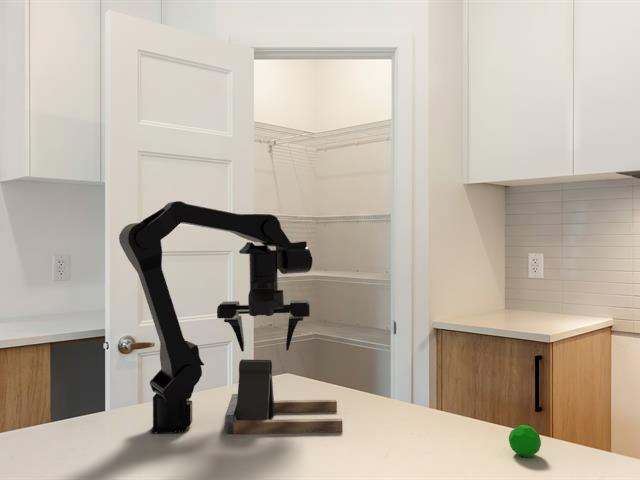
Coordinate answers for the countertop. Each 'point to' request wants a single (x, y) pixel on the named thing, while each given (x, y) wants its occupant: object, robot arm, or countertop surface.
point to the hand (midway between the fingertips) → (265, 350)
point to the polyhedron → (524, 441)
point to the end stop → (231, 413)
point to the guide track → (292, 424)
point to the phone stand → (255, 390)
